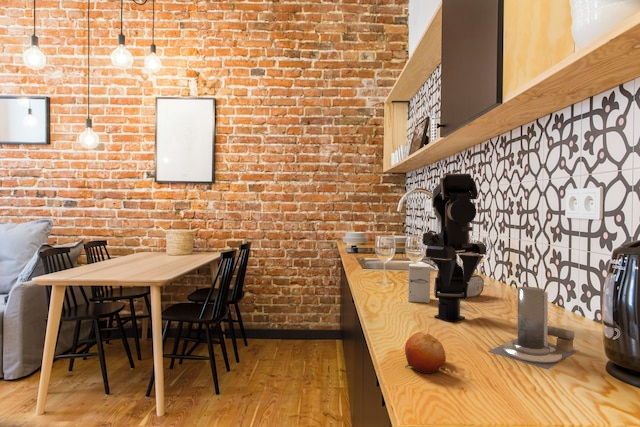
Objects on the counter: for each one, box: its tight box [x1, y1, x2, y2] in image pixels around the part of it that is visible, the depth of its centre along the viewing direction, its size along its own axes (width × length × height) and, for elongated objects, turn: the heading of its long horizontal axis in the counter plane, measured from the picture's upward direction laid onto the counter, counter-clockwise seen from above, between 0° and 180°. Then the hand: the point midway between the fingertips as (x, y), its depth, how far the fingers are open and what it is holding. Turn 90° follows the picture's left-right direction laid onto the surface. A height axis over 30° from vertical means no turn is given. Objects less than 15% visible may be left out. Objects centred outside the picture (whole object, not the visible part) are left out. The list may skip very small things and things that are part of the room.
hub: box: [512, 286, 550, 356], centre depth 83 cm, size 7×7×13 cm
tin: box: [466, 273, 485, 299], centre depth 142 cm, size 15×3×8 cm, turn 118°
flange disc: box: [502, 341, 563, 364], centre depth 82 cm, size 11×11×1 cm
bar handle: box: [547, 325, 575, 353], centre depth 88 cm, size 11×2×4 cm, turn 38°
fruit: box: [404, 331, 447, 375], centre depth 78 cm, size 8×8×8 cm
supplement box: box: [407, 263, 431, 304], centre depth 137 cm, size 7×7×13 cm
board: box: [487, 337, 579, 370], centre depth 84 cm, size 16×12×1 cm
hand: (456, 284), depth 98 cm, fingers open, 9 cm apart
